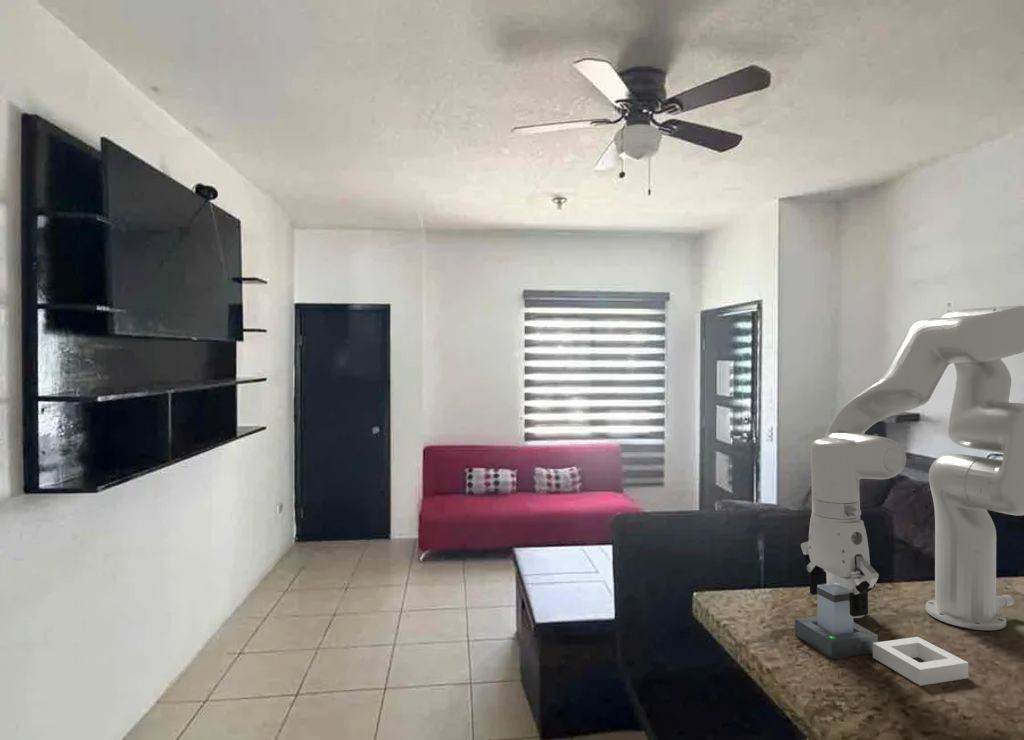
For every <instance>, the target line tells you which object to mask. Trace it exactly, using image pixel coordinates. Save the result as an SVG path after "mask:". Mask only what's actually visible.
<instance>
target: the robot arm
mask: <svg viewBox="0 0 1024 740" xmlns="http://www.w3.org/2000/svg"><path fill="white" fill-rule="evenodd" d="M1021 353H1022V354H1023V353H1024V305H1018V304H1017V305H1004V306H1003V305H1002V306H993V307H992V306H991V307H976V308H967V309H966V308H965V309H959V310H953V311H950V312H946V313H945V314H943V315H942V316H940V317H932V318H925V319H922V320H919V321H916V322H915V323H913V324H912V325H911V326H910V327H909V328H908V329H907V331H906V333H905V335H903V339H901V341H900V343H899V345H898V347H897V349H896V350H895V352H894V353H893V356H892V358H891V359H890V361H889V363H888V365H887V367H886V368H885V370H884V372H883V374H882V375H881V377H880V379H878V381H877V382H875V383H874V384H872V385H871V386H869V387H867V388H866V389H864V390H863V391H862V392H860V393H859V394H858V395H856V396H855V397H853V398H852V399H851V400H849V401H848V402H846V404H844V405H843V407H842V408H841V409H840V410H838V412H837V413H836V414H835V416H834V417H833V419H832V420H831V423H830V425H829V426H828V428H827V429H826V432H825V433H824V436H823V438H819V439H815V440H814V441H813V442H812V443H811V444H810V471H811V472H810V476H811V477H810V480H811V481H810V483H811V514H810V520H809V531H808V541H805V542H802V543H800V548H801V551H802V553H803V554H802V555H803V559H804V561H805V564H806V570H807V572H809V574H808V576H809V594H811V595H813V596H817V585H821V584H827V578H826V571H828V572H830V573H832V574H835V575H837V576H839V577H841V578H844V579H846V580H847V582H848V584H849V586H850V588H851V590H852V592H851V593H850V594H849V604H850V615H851V616H853V617H856V616H862V615H864V616H867V615H868V614H869V596H868V594H870V593H871V592H872V590H873V589H875V587H876V583H877V581H878V579H879V576H880V574H879V572H877V571H876V570H875V569H874V568H873V566H872V565H871V559H870V549H869V542H868V541H869V540H868V535H867V531H866V526H865V523H864V520H862V519H861V515H862V511H861V507H860V505H861V504H860V503H861V501H860V498H861V497H860V480H861V479H868V480H869V479H870V480H889V479H891V478H894V477H896V476H898V475H899V474H901V473H902V471H903V470H904V468H905V466H906V464H907V454H906V451H905V449H904V447H903V446H902V445H901V444H900V443H898V442H897V441H895V440H894V439H892V438H889V437H885V436H878V435H874V434H872V435H871V434H867V433H866V431H867V432H868V430H869V429H871V427H872V426H873V425H875V424H876V423H879V422H880V421H882V420H884V419H887V418H889V417H892V416H895V415H899V414H902V413H905V412H908V411H912V410H914V409H918V408H919V407H921V406H924V405H925V404H927V403H928V402H929V400H930V399H931V397H932V395H933V394H934V391H935V390H936V388H937V386H938V384H939V382H940V381H941V379H942V376H943V375H944V373H945V371H946V369H947V368H948V366H949V365H950V364H953V365H954V368H955V372H956V382H955V389H954V394H953V398H952V402H951V403H952V405H951V410H950V414H949V419H948V420H949V421H948V427H947V429H948V436H949V439H950V440H951V441H952V442H953V443H954V444H955V445H958V446H960V447H963V448H967V449H972V450H979V451H985V452H986V451H987V452H993V453H999V454H1002V459H996V458H990V457H989V458H988V457H986V456H985V457H984V456H977V455H970V454H962V453H961V454H960V453H950V454H945V455H942V456H939V457H937V458H936V459H935V460H934V461H933V462H932V463H931V465H930V468H929V470H928V484H929V487H930V492H931V496H932V501H933V509H934V522H935V523H934V532H935V533H934V546H935V547H934V563H935V564H934V599H930V600H928V601H927V602H926V603H925V611H926V613H927V614H929V615H930V616H931V617H933V618H934V619H937V620H938V621H941V622H943V623H946V624H949V625H952V626H955V627H958V628H959V627H960V628H963V629H969V630H975V631H998V630H1002V629H1004V628H1006V626H1007V618H1006V617H1005V615H1004V614H1003V613H1001V612H1000V609H1001V608H1002V607H1009V606H1013V605H1014V604H1015V600H1014V598H1013V597H1012V596H1011V595H1009V594H1005V595H997V529H996V526H995V523H994V521H993V519H992V516H991V515H990V514H989V512H988V511H991V512H996V513H1000V514H1004V515H1010V516H1011V515H1012V516H1016V517H1017V516H1024V403H1022V402H1010V396H1011V395H1010V394H1011V387H1012V377H1011V373H1010V371H1009V369H1008V367H1007V366H1006V364H1005V363H1004V361H1003V360H1002V359H1004V358H1005V359H1006V358H1008V357H1012V356H1014V355H1019V354H1021ZM824 570H826V571H824ZM851 572H853V573H856V574H851ZM854 579H858V581H859V583H860V584H859V585H858V586H857V584H856V582H855V580H854Z"/></svg>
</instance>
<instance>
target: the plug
mask: <svg viewBox="0 0 1024 740" xmlns="http://www.w3.org/2000/svg"><path fill="white" fill-rule="evenodd" d="M851 592H852V590H851V589H848V588H846V587H844V586H842V585H840V584H838V583H829V584H821V585H817V595H816V597H817V601H816V605H817V609H816V612H817V615H816V616H817V626H818V627H820V628H822V629H823V630H825V631H827V632H828V633H830V634H832V635H840V634H847V633H853V622H854V618H853V616H851V615H850V604H849V594H850V593H851Z"/></svg>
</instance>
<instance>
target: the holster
mask: <svg viewBox="0 0 1024 740" xmlns="http://www.w3.org/2000/svg"><path fill="white" fill-rule="evenodd" d="M872 658H873V659H875V660H876V661H878V662H879V663H881V664H883V665H885V666H887V667H888V668H890V669H892V670H893V671H895V672H896V673H898V674H900V675H901V676H903V677H905V678H906V679H908V680H909V681H911V682H913V683H914V684H916V685H918V686H929V685H933V684H939V683H941V684H942V683H946V682H953V681H958V680H959V681H960V680H966V679H969V662H968V661H966V660H965V659H963V658H960V657H959V656H957V655H955V654H953V653H951V652H949V651H946V650H945V649H942V647H941V648H940V647H938V646H937V645H935V644H932V643H931V642H929V641H926V640H925V639H923V638H921V637H919V636H913V637H906V638H905V637H904V638H899V639H893V640H884V641H878V642H876V643H873V653H872ZM915 658H919V659H920V660H923V662H919V661H917V660H916V659H915Z"/></svg>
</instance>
